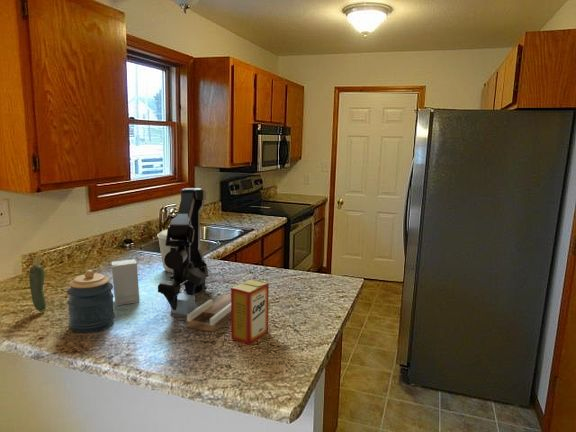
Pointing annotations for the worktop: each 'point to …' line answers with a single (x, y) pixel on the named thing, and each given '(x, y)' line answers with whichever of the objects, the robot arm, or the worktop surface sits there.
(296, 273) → the worktop surface
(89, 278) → the canister
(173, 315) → the coaster
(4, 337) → the worktop surface
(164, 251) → the canister
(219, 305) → the channel base plate
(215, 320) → the channel walls
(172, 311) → the block
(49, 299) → the worktop surface
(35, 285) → the vegetable
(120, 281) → the skincare box
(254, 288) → the baking soda box
